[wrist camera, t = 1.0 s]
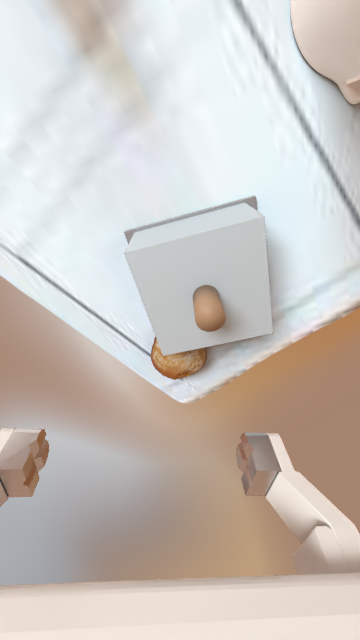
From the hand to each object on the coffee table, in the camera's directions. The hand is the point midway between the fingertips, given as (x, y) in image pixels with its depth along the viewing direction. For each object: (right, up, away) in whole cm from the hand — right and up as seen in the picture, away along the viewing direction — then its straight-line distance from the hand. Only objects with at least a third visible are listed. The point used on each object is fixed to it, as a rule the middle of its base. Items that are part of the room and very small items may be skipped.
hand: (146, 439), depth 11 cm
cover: (+4, +13, +28) cm, 31 cm away
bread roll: (+1, 0, +37) cm, 37 cm away
